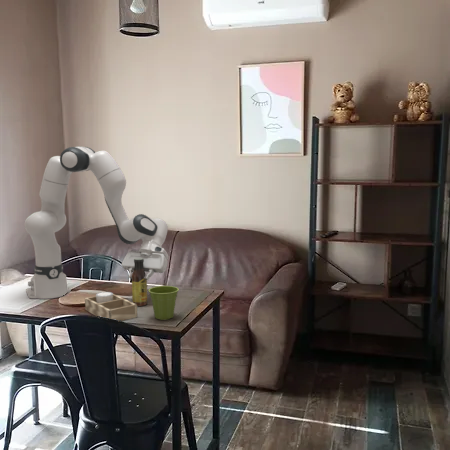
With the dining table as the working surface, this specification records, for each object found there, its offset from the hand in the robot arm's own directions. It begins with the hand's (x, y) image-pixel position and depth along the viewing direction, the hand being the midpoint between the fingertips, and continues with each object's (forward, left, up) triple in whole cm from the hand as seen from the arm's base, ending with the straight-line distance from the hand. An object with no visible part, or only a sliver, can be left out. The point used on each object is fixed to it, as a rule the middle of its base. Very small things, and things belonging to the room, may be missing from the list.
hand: (138, 278), depth 212 cm
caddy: (+3, -14, -11) cm, 19 cm away
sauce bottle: (0, +1, -12) cm, 12 cm away
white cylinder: (-3, -14, -12) cm, 19 cm away
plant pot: (+21, 0, -12) cm, 24 cm away
